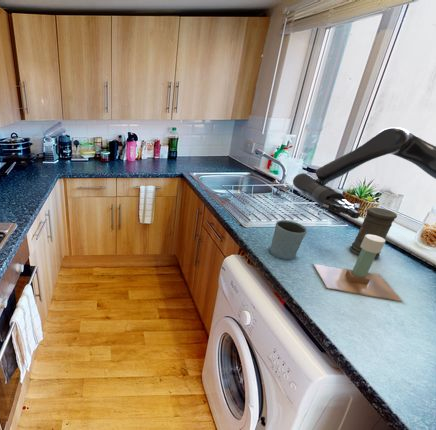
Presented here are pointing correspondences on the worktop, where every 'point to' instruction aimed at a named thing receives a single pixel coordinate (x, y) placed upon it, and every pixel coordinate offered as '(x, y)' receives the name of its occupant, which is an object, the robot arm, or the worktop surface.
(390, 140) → the robot arm
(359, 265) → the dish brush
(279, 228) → the grey cup
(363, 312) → the worktop surface
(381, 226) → the container
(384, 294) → the brown flat board
